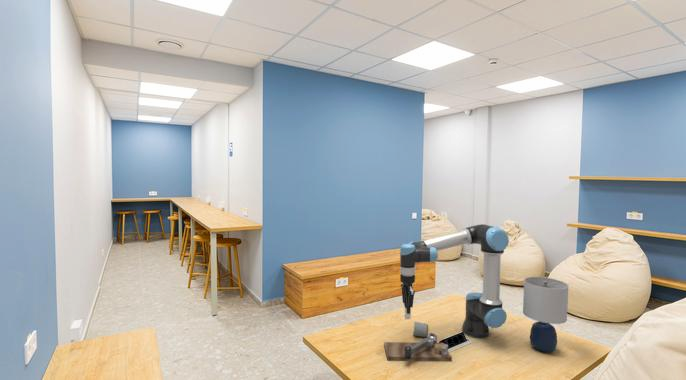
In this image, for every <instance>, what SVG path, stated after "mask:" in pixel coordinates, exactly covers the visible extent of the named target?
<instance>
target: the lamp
mask: <svg viewBox="0 0 686 380" xmlns="http://www.w3.org/2000/svg"><path fill="white" fill-rule="evenodd" d="M522 298H523V302H522V313H523V315H524V316H526V317H527V318H529V319H531V320H533V321H535V322H533V323H532V325H531V328H530V331H529V332H530V333H529V341H530V344H531V346H532V347H533V348H534V349H536V350H537V351H539V352H541V353H542V352H543V353H552V352H554V351H555V350H556V349H557V346H558V336H557V335H558V334H557V333H558V332H557V330H556V328H555V326H553V325H558V324H559V325H560V324H565V323H566V322H567V321H568V307H569V306H568V304H569V303H568V301H569V284H568V283H566V282H565V281H563V280H559V279H556V278H550V277H544V276H543V277H541V276H527V277H525V278H524V279H523V297H522Z"/></svg>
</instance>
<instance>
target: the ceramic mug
mask: <svg viewBox="0 0 686 380" xmlns="http://www.w3.org/2000/svg"><path fill="white" fill-rule="evenodd" d="M413 323H414V324H413V336H414V337H421V338H427V335H428V334H429V324H428V323H425V322H419V321H413Z"/></svg>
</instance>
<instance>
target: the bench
mask: <svg viewBox="0 0 686 380" xmlns="http://www.w3.org/2000/svg"><path fill="white" fill-rule="evenodd" d="M416 343H417V342H410V341H409V342H405V341H404V342H399V341H391V342H390V341H389V342H388V341H386V342H383V348H384V351H385V355H386V360H387V361H388V362H390V361H392V362H393V361H394V362H399V361H400V362H403V361H404V362H452V361H453V357H452V355H451V354H450V352H449V345H448V344H446V343H444V342H437V343H435V344H441V345H442V350H441V354H436V353H435V344H433V345H432V346H430V347H429V346H426V347H424V348H422V349H421V350H419V351H417V352H416V353H414V354H412V355H411V359H405V357H404V356H405V346H410V347H411V346H413V345H414V344H416Z"/></svg>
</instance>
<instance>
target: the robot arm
mask: <svg viewBox="0 0 686 380" xmlns="http://www.w3.org/2000/svg"><path fill="white" fill-rule="evenodd" d="M509 241H510V237H509V236H508V233H507V232H506V231H505V230H504V229H502V228H499V227H497V226H493V225H489V224H488V225H487V224H481V223H480V224H476V225H471V226H468V227H464V228H462V229H461V230H459V231H456V232H452V233H448V234H444V235H439V236H437V237H432V238H429V239H428V238H427V239H424V240H420V241H415V240H414V241H410V242H409V243H405V244H402V245H401V246H400V248H399V249H400V250H399V254H400V255H399V260H400V262H399V263H400V268H399V272H400V275H399V277H400V282H401V283H400V286H401V297H402V303H403V306H404V319H405V320H411V318H412V317H411V312H412V311H411V310H412V309H411V308H414V307H413V306H414V298H415V297H414V296H415V294H416V293H415V290H413V288H414V287H413V284H414V283H415V282H416V275H415V274H416V264H419V263H431V262H432V263H433V262H436V261H437V260H438V258H439V257H438V255H439V253H438V251H443V250H446V249H450V248H454V247H458V246H462V245H473V244H475V245H476V244H477V245H479V246H480V252H481V253H483V259H482V260H483V261H482V262H483V263H482V264H483V265H482V266H483V267H482V269H483V272H482V292H469V293H467V294H466V295H465V318H464V321H463V323H462V325H461V330H462V331H461V332H464V333H463V334H465V335H466V336H469V337H472V338H477V339H484V338H488V337H489V336H490V328H492V329H497V328H500V327H502V326H503V325H504V324H505V323H506V321H507V318H508V315H507V312H506V311H505V309H503V300H502V299H501V298H500V294H501V293H500V291H501V287H500V286H501V257H502V255H503V254H504V253H505V250H506V249H507V247H508V246H509Z"/></svg>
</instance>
